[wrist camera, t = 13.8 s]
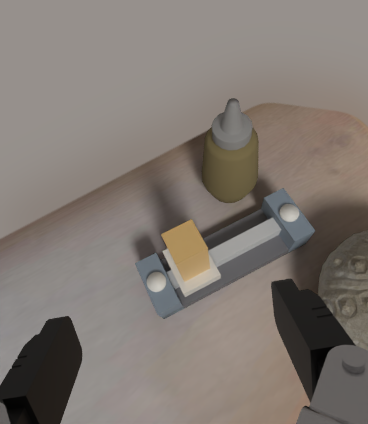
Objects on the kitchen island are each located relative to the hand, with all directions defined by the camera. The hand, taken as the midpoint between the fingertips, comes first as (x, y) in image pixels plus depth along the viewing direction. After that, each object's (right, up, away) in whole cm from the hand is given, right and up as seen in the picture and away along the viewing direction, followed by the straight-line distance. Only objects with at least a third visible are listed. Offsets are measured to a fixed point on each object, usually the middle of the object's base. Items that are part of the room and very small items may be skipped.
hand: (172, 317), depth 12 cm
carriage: (+2, -4, +30) cm, 30 cm away
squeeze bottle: (+7, +8, +37) cm, 39 cm away
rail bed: (+6, -2, +32) cm, 33 cm away
